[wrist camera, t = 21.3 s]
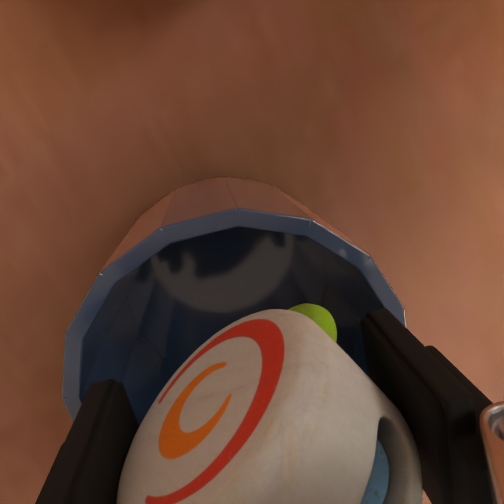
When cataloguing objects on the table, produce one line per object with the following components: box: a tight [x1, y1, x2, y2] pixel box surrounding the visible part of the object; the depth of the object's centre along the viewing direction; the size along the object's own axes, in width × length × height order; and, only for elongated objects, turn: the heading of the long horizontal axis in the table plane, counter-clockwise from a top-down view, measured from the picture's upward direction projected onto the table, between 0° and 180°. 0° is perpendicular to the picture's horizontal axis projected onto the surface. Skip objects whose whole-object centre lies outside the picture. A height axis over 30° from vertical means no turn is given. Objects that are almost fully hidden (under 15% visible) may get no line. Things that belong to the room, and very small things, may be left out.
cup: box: [62, 177, 406, 426], centre depth 16 cm, size 10×10×8 cm
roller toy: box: [116, 303, 423, 504], centre depth 9 cm, size 4×6×6 cm
